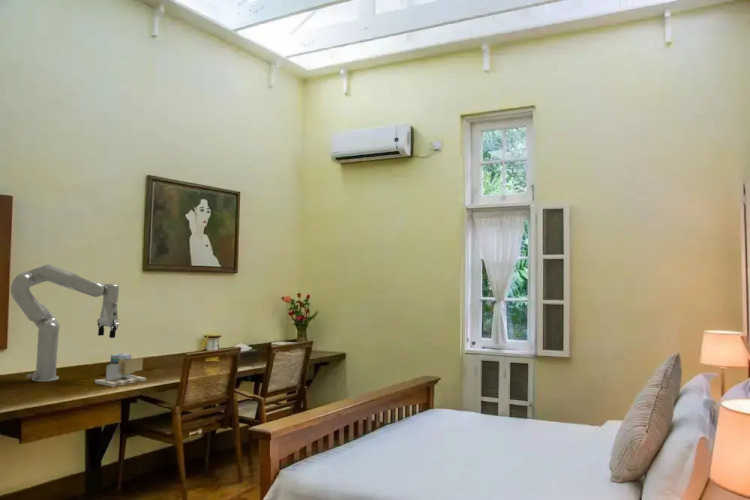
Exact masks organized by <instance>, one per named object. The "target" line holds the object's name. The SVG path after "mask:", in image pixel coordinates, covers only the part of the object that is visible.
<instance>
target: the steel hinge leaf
mask: <svg viewBox="0 0 750 500" xmlns="http://www.w3.org/2000/svg"><path fill="white" fill-rule="evenodd" d="M125 361H128V359H126V360H125ZM121 365H122V364H121V363H120V364H113V365H110V364H108V365H107V364H106V367H105V378H106V379H105V378H104V379H105V382H108V381H113V380H119V379H130V378H131V375H132V373H129V374H121Z"/></svg>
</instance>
